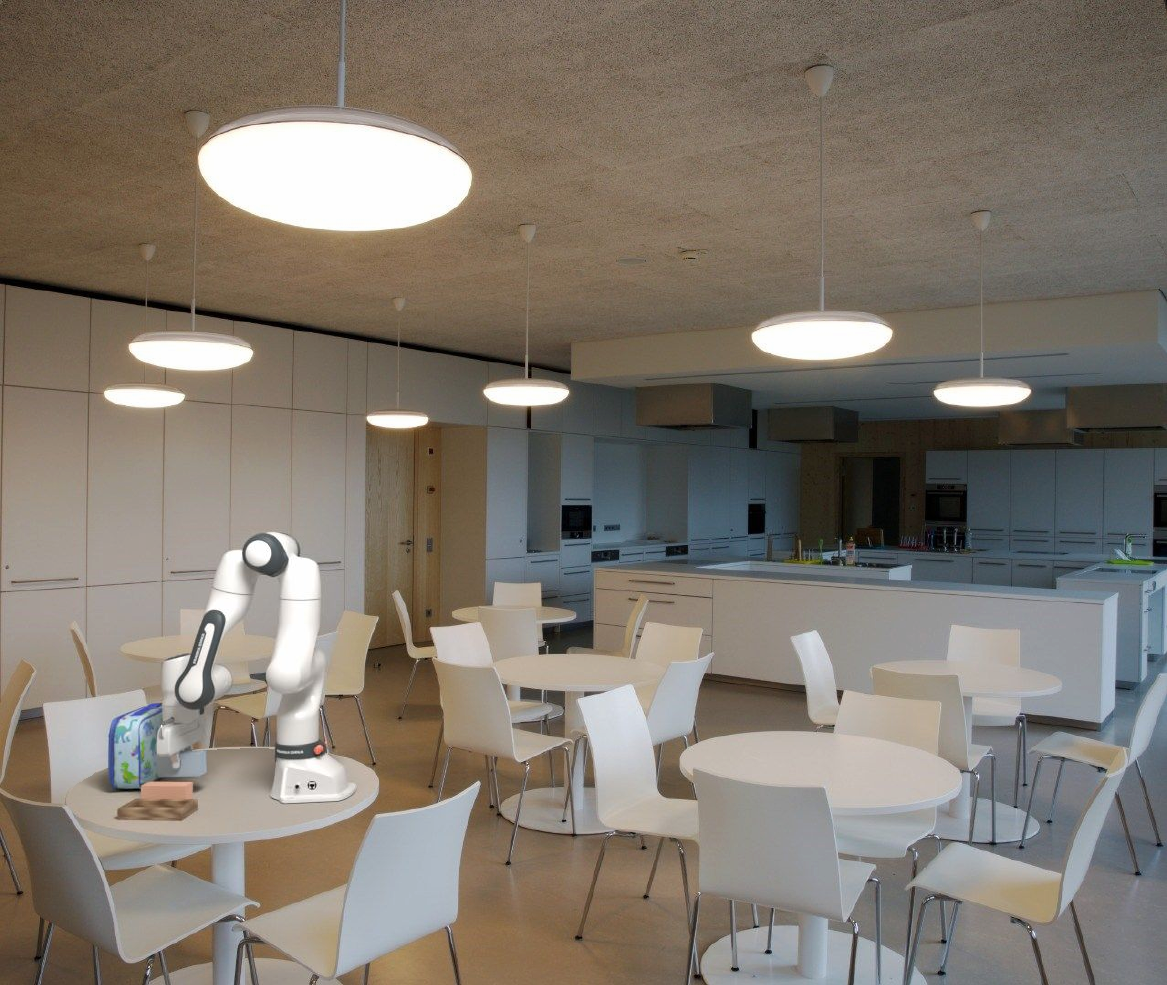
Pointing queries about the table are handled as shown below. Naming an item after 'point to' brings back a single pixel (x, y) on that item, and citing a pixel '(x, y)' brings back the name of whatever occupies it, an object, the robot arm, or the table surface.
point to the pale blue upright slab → (183, 765)
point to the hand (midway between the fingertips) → (182, 764)
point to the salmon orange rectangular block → (167, 790)
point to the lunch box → (134, 747)
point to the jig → (157, 809)
